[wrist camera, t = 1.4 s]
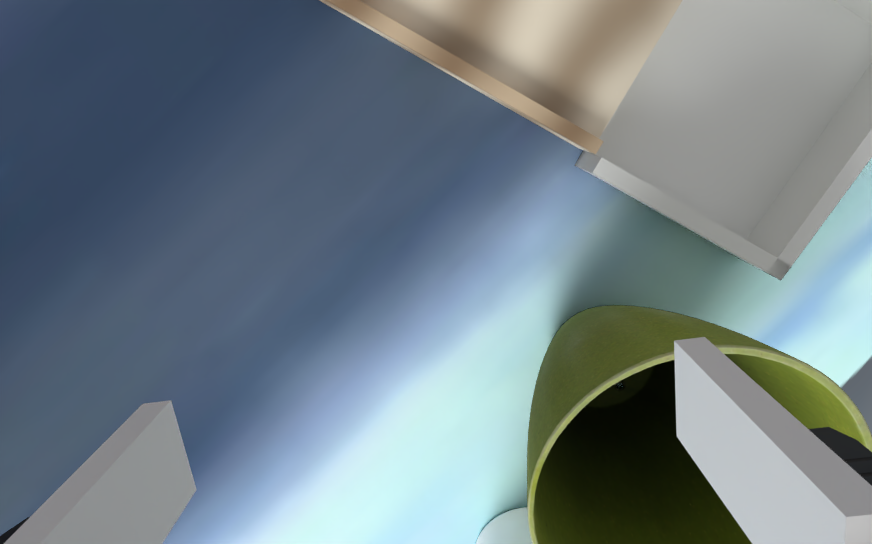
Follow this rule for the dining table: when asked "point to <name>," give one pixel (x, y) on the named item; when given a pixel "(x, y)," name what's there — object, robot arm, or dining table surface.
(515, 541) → the mug
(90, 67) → the dining table surface
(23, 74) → the dining table surface
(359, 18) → the deck
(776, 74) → the tray
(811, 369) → the flower pot
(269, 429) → the dining table surface
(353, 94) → the dining table surface
